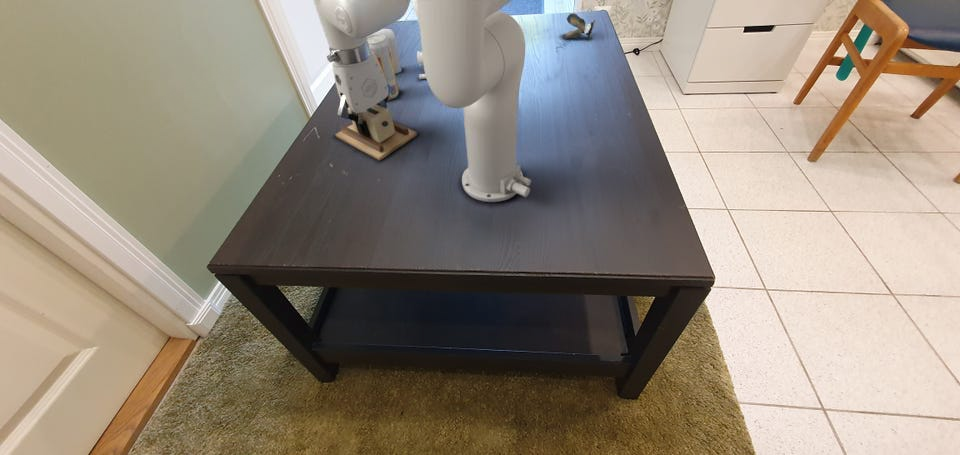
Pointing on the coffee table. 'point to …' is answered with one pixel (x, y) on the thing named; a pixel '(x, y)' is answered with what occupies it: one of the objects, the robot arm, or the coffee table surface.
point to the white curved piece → (391, 47)
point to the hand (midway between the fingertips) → (374, 128)
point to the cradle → (373, 146)
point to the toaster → (377, 123)
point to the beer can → (384, 61)
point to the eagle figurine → (578, 26)
